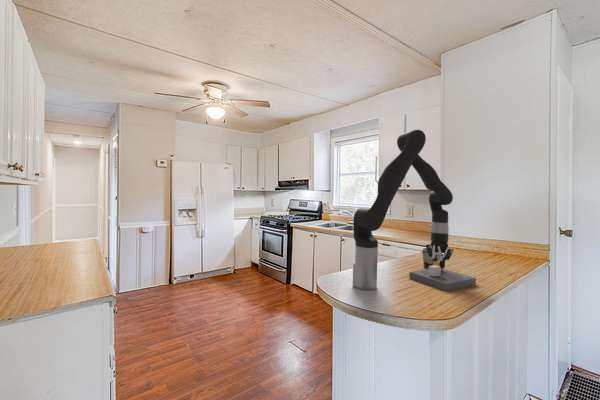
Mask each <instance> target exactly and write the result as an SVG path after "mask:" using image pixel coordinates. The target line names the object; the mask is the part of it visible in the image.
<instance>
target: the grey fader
mask: <svg viewBox="0 0 600 400" xmlns="http://www.w3.org/2000/svg"><path fill="white" fill-rule="evenodd" d="M428 269H429V275H431V276H434V277H435V276H440V273H441V267H440V266H436V265H432V266H429V268H428Z"/></svg>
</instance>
